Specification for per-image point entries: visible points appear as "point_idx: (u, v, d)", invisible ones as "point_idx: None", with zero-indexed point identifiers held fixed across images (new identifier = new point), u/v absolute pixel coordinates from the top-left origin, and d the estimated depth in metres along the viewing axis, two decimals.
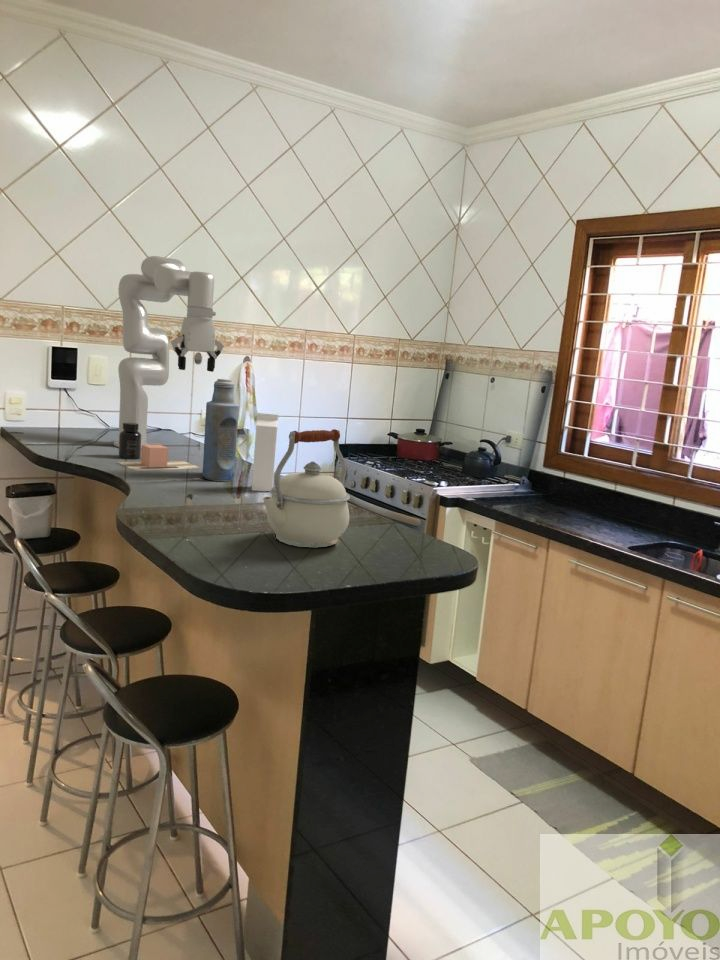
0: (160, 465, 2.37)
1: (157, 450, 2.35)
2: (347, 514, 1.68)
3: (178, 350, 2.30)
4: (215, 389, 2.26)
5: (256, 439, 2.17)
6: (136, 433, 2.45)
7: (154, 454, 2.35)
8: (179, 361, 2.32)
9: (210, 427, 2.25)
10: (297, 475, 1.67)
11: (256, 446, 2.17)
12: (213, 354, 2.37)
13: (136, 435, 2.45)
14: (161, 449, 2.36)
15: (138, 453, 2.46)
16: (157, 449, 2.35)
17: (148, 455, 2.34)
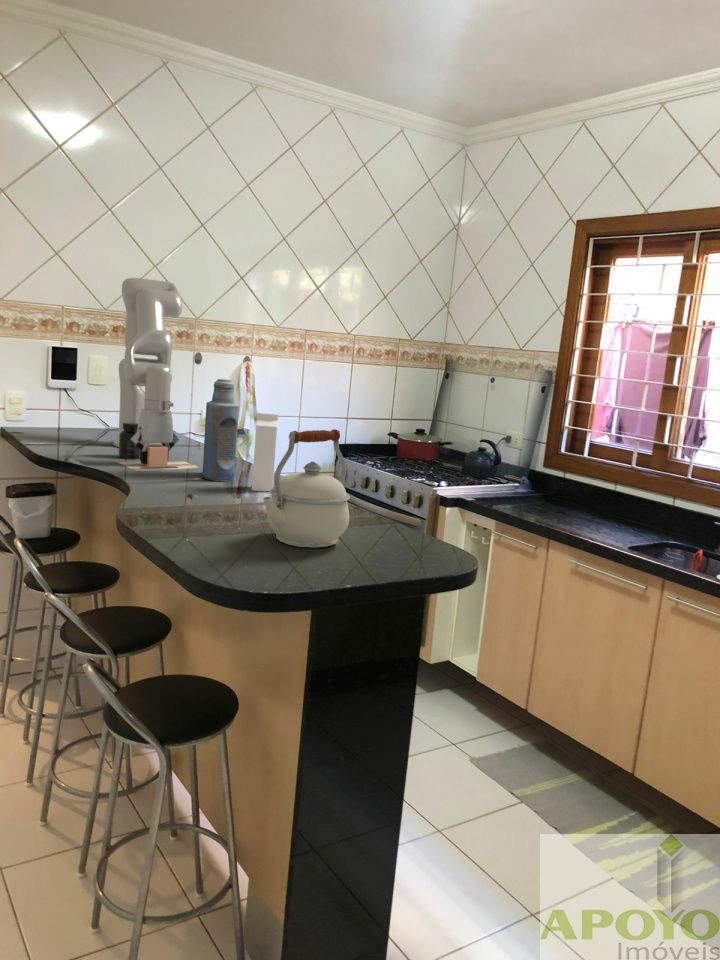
0: (160, 465, 2.37)
1: (157, 450, 2.35)
2: (347, 514, 1.68)
3: (140, 445, 2.34)
4: (215, 389, 2.26)
5: (256, 439, 2.17)
6: None
7: (154, 454, 2.35)
8: (141, 456, 2.35)
9: (210, 427, 2.25)
10: (297, 475, 1.67)
11: (256, 446, 2.17)
12: None
13: None
14: (161, 449, 2.36)
15: (138, 453, 2.46)
16: (157, 449, 2.35)
17: (148, 455, 2.34)
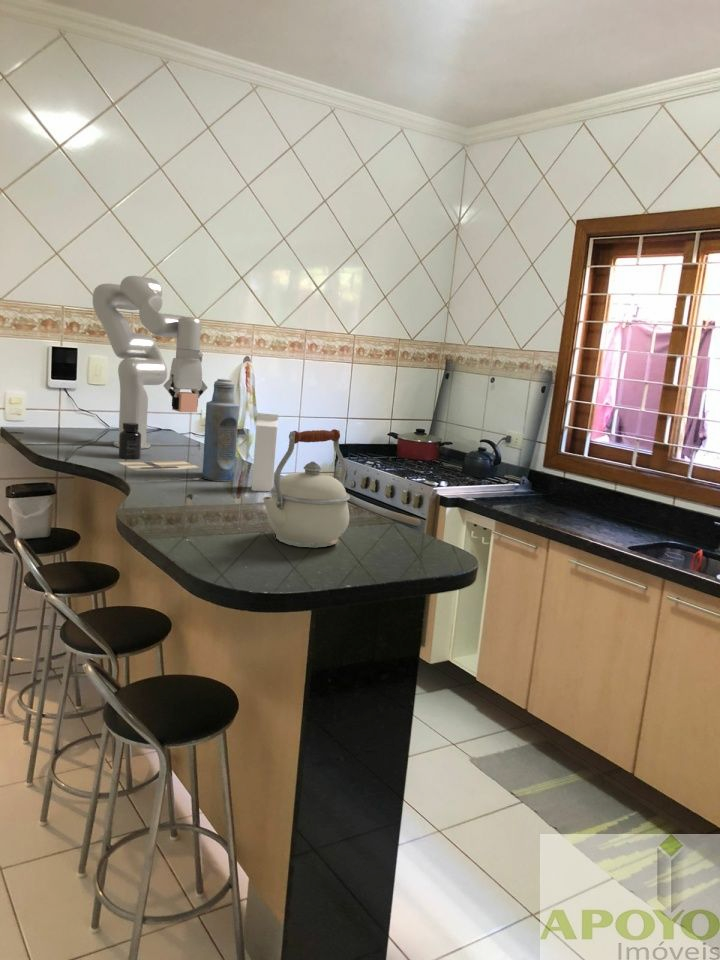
0: (190, 410, 2.54)
1: (188, 396, 2.52)
2: (347, 514, 1.68)
3: (172, 391, 2.51)
4: (215, 389, 2.26)
5: (256, 439, 2.17)
6: (136, 433, 2.45)
7: (185, 399, 2.52)
8: (173, 401, 2.52)
9: (210, 427, 2.25)
10: (297, 475, 1.67)
11: (256, 446, 2.17)
12: None
13: (136, 435, 2.45)
14: (191, 395, 2.53)
15: (138, 453, 2.46)
16: (188, 395, 2.52)
17: (180, 401, 2.51)
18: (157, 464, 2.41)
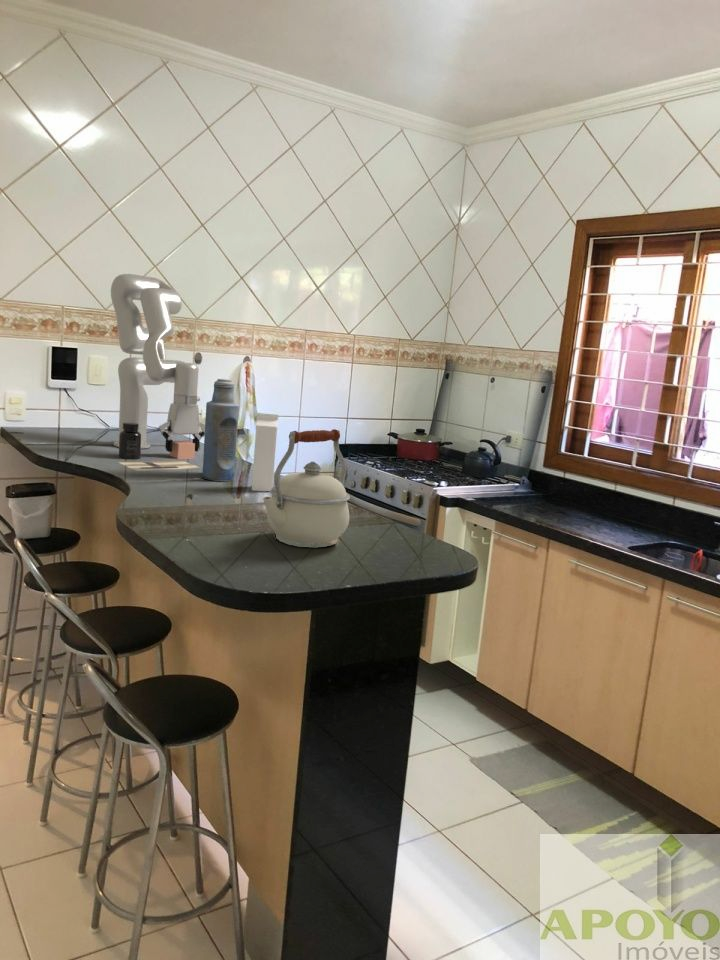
0: None
1: (185, 446, 2.55)
2: (347, 514, 1.68)
3: (165, 434, 2.52)
4: (215, 389, 2.26)
5: (256, 439, 2.17)
6: (136, 433, 2.45)
7: (183, 449, 2.55)
8: (166, 444, 2.54)
9: (210, 427, 2.25)
10: (297, 475, 1.67)
11: (256, 446, 2.17)
12: (197, 436, 2.59)
13: (136, 435, 2.45)
14: (189, 445, 2.56)
15: (138, 453, 2.46)
16: (185, 445, 2.55)
17: (177, 451, 2.54)
18: (157, 464, 2.41)
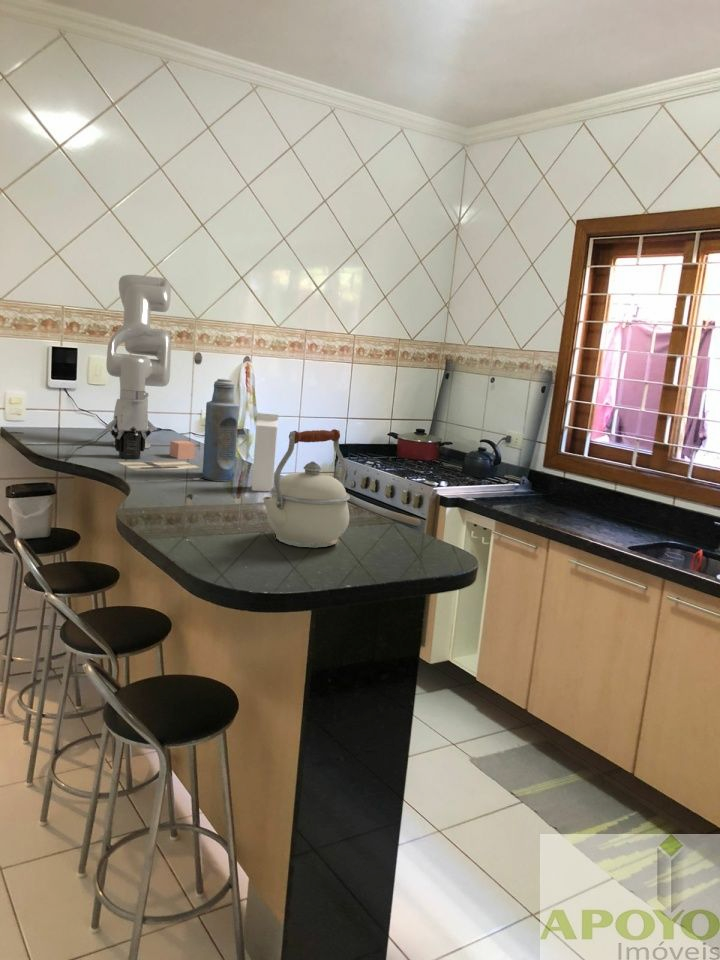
0: None
1: (185, 446, 2.55)
2: (347, 514, 1.68)
3: (114, 433, 2.42)
4: (215, 389, 2.26)
5: (256, 439, 2.17)
6: (136, 433, 2.45)
7: (183, 449, 2.55)
8: (116, 443, 2.44)
9: (210, 427, 2.25)
10: (297, 475, 1.67)
11: (256, 446, 2.17)
12: (143, 435, 2.48)
13: (136, 435, 2.45)
14: (189, 445, 2.56)
15: (138, 453, 2.46)
16: (185, 445, 2.55)
17: (177, 451, 2.54)
18: (157, 464, 2.41)
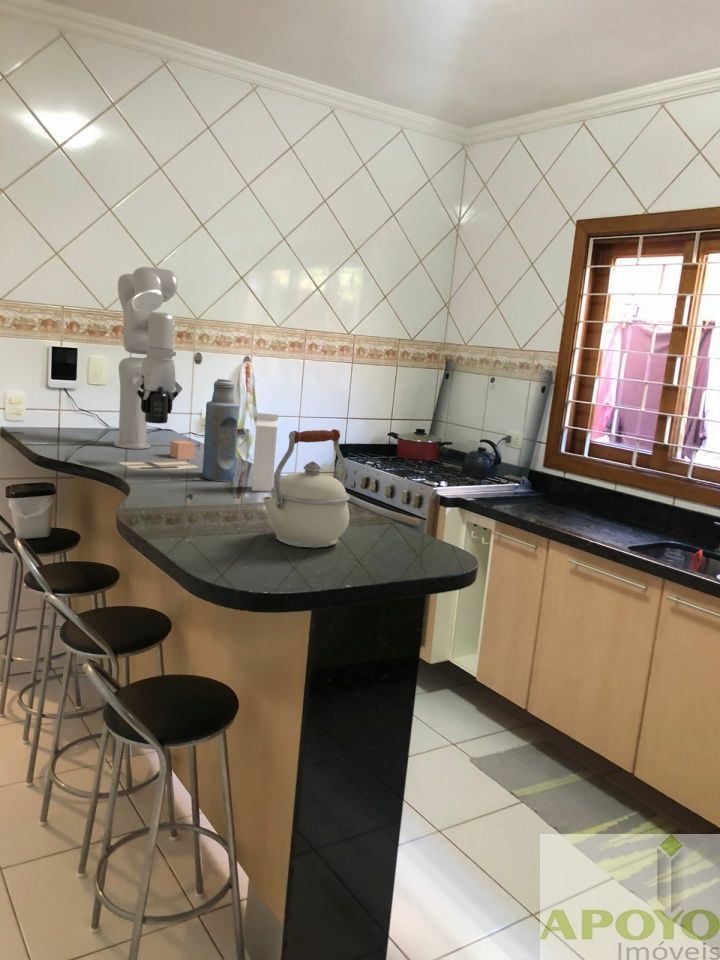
0: None
1: (185, 446, 2.55)
2: (347, 514, 1.68)
3: (141, 393, 2.31)
4: (215, 389, 2.26)
5: (256, 439, 2.17)
6: (163, 393, 2.33)
7: (183, 449, 2.55)
8: (142, 404, 2.32)
9: (210, 427, 2.25)
10: (297, 475, 1.67)
11: (256, 446, 2.17)
12: (170, 396, 2.36)
13: (163, 395, 2.33)
14: (189, 445, 2.56)
15: (165, 415, 2.35)
16: (185, 445, 2.55)
17: (177, 451, 2.54)
18: (157, 464, 2.41)
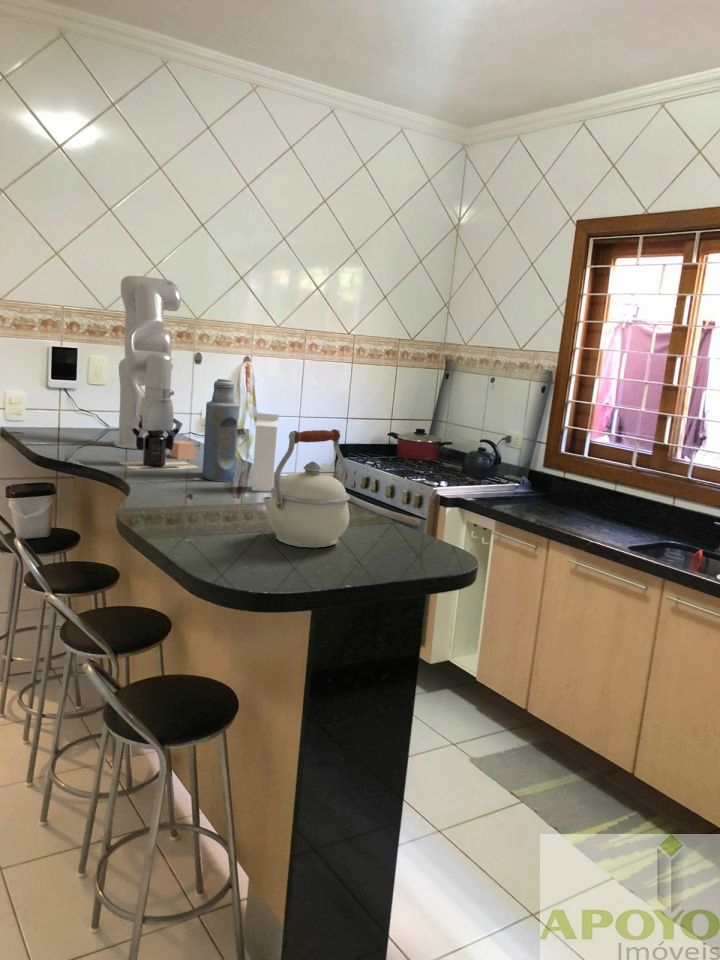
0: None
1: (185, 446, 2.55)
2: (347, 514, 1.68)
3: (136, 431, 2.32)
4: (215, 389, 2.26)
5: (256, 439, 2.17)
6: (161, 437, 2.36)
7: (183, 449, 2.55)
8: (137, 441, 2.34)
9: (210, 427, 2.25)
10: (297, 475, 1.67)
11: (256, 446, 2.17)
12: (171, 433, 2.39)
13: (161, 439, 2.36)
14: (188, 445, 2.56)
15: (163, 458, 2.37)
16: (185, 445, 2.55)
17: (177, 451, 2.54)
18: None
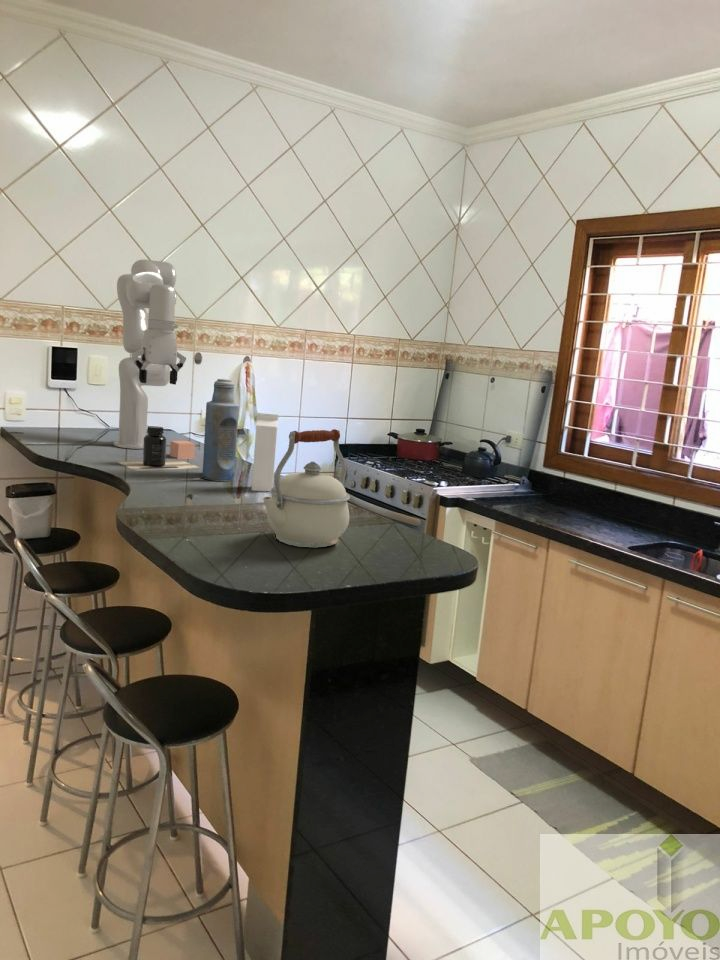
0: None
1: (185, 446, 2.55)
2: (347, 514, 1.68)
3: (139, 363, 2.28)
4: (215, 389, 2.26)
5: (256, 439, 2.17)
6: (161, 437, 2.36)
7: (183, 449, 2.55)
8: (140, 374, 2.30)
9: (210, 427, 2.25)
10: (297, 475, 1.67)
11: (256, 446, 2.17)
12: (175, 367, 2.35)
13: (161, 439, 2.35)
14: (188, 445, 2.56)
15: (163, 458, 2.37)
16: (185, 445, 2.55)
17: (177, 451, 2.54)
18: None
